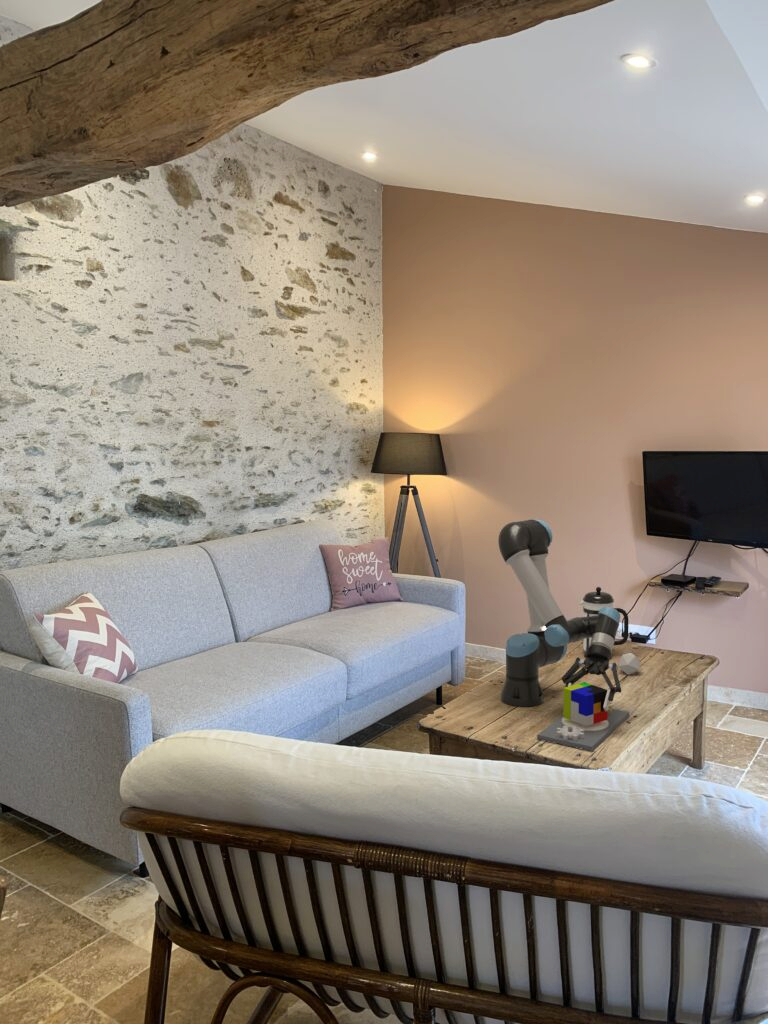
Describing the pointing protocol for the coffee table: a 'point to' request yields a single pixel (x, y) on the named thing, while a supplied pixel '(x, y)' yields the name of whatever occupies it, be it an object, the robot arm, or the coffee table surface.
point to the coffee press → (593, 606)
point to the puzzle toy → (584, 703)
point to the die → (629, 663)
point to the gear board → (588, 736)
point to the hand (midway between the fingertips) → (585, 705)
